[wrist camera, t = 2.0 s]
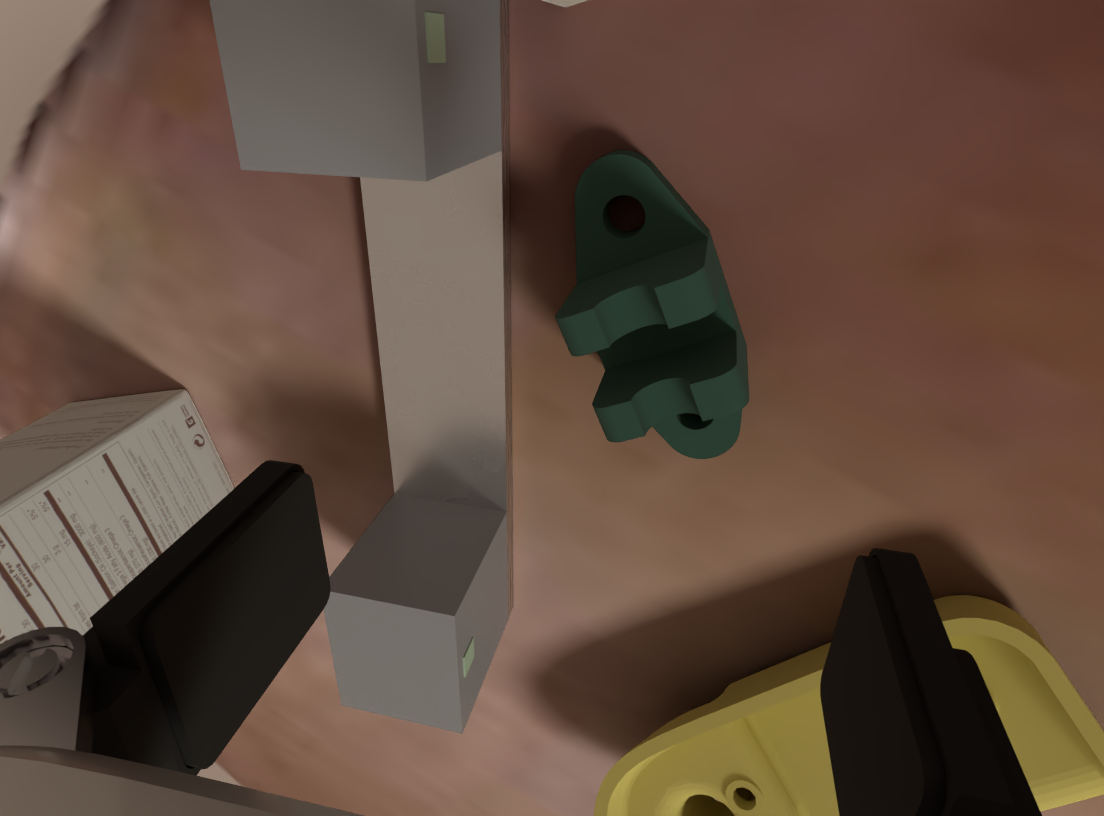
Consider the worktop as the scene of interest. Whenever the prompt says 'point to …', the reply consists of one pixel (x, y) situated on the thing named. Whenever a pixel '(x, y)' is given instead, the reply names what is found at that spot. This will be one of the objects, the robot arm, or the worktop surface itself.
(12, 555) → the supplement box
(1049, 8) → the worktop surface
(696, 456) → the mount
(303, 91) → the block
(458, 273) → the rail
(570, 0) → the block
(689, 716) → the plastic component
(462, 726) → the block
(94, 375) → the worktop surface
